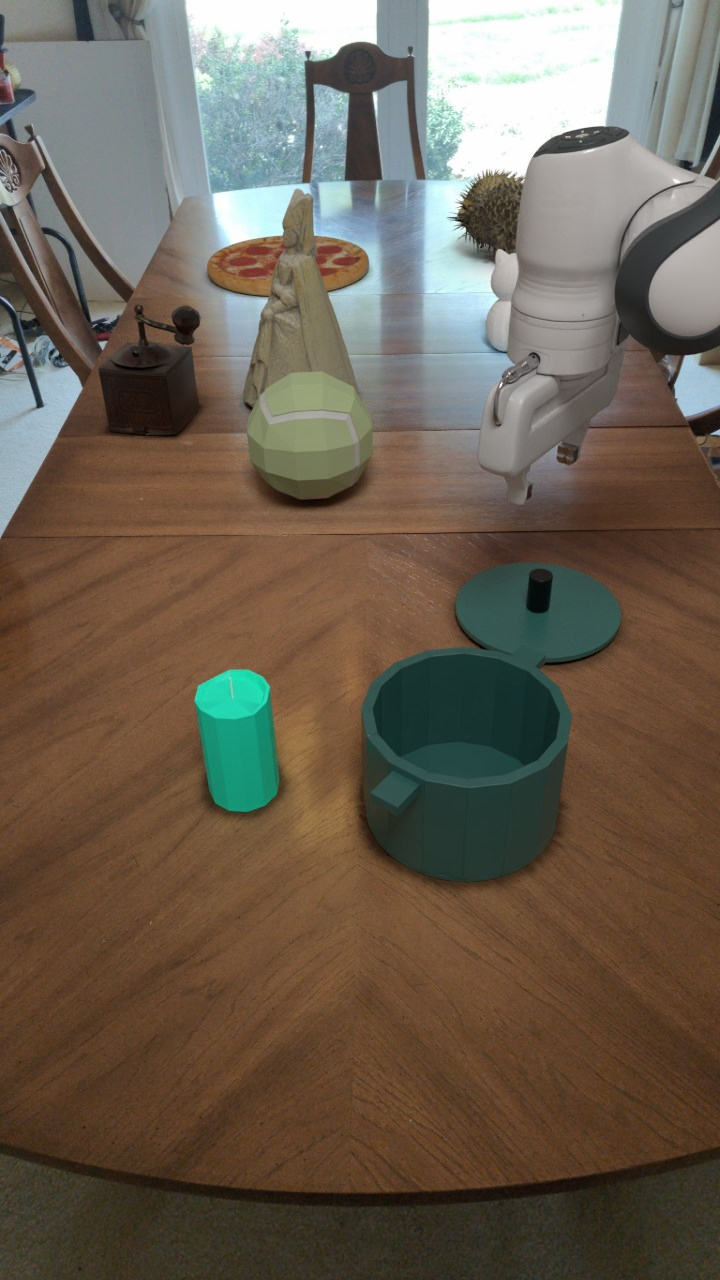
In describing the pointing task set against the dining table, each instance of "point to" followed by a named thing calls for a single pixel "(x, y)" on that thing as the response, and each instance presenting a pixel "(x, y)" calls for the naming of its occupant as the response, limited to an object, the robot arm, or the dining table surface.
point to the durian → (491, 211)
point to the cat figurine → (501, 299)
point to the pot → (464, 761)
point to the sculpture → (297, 313)
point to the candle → (238, 739)
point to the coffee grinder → (152, 379)
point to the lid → (538, 610)
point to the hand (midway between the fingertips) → (543, 480)
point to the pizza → (257, 258)
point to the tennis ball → (310, 435)
